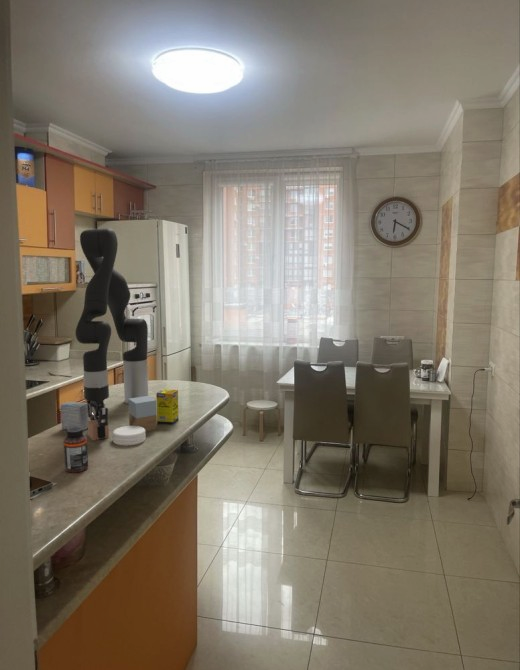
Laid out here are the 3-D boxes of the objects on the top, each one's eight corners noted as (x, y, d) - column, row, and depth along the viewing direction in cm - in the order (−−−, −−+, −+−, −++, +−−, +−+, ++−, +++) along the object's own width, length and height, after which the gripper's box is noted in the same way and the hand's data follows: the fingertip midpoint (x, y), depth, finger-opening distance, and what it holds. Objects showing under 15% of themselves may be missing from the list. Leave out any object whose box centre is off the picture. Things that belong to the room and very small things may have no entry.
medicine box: (89, 428, 178) (88, 403, 177) (81, 432, 174) (79, 406, 173) (70, 425, 181) (69, 401, 180) (61, 429, 177) (60, 404, 175)
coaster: (106, 443, 164) (105, 432, 163) (126, 433, 173) (126, 423, 172) (132, 448, 160) (132, 437, 159) (152, 438, 169) (151, 427, 168)
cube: (88, 436, 171) (87, 421, 170) (103, 433, 173) (103, 418, 173) (93, 440, 166) (92, 425, 166) (108, 437, 169) (108, 422, 168)
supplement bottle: (68, 465, 146) (66, 425, 145) (90, 464, 147) (88, 425, 145) (62, 473, 141) (60, 433, 139) (85, 473, 141) (83, 432, 139)
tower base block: (129, 427, 179) (128, 413, 178) (149, 423, 183) (148, 409, 182) (137, 433, 173) (136, 418, 173) (157, 429, 177) (156, 414, 177)
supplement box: (173, 424, 182) (172, 393, 180) (156, 423, 183) (155, 392, 181) (179, 419, 188) (178, 389, 186) (163, 418, 189) (162, 388, 187)
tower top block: (128, 413, 178) (128, 398, 178) (148, 409, 182) (148, 395, 182) (136, 418, 173) (136, 403, 172) (156, 414, 177) (156, 400, 176)
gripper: (77, 381, 171) (80, 430, 174) (90, 390, 159) (93, 443, 162) (100, 378, 175) (103, 426, 178) (115, 386, 163) (117, 438, 166)
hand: (98, 434), depth 170 cm, fingers open, 6 cm apart
